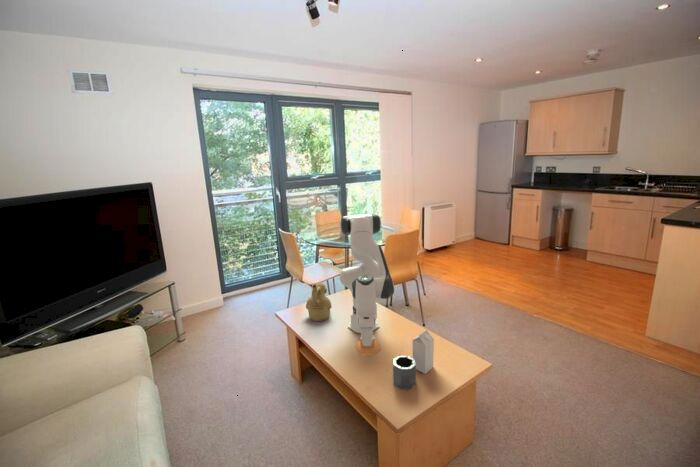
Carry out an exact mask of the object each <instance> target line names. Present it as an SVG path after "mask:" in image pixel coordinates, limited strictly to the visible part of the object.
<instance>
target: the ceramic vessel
mask: <svg viewBox="0 0 700 467" xmlns="http://www.w3.org/2000/svg"><path fill="white" fill-rule="evenodd" d="M311 289H312V296H311V297H309V298H308V299H307V301H306V303H305V308H306V310H307V312H308V317H309V318H310V320H312V321H314V322H323V321H326V320H327V319H329V317H330V315H331V309H332V302H331V300H330V298H328V297H327V295H326V294H327V292H328V289H327V287H326V284H325V283H323V282H317V283H316V284H313V285H311ZM325 295H326V296H325Z"/></svg>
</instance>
